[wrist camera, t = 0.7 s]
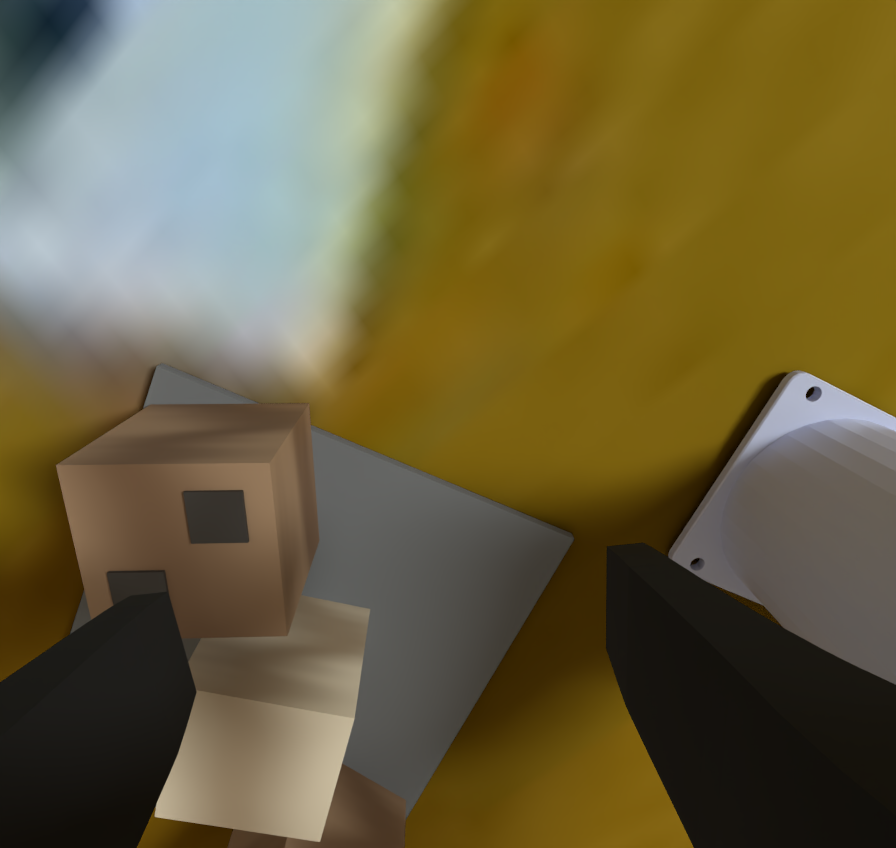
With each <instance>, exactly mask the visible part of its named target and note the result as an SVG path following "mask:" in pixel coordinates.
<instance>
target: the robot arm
mask: <svg viewBox="0 0 896 848" xmlns="http://www.w3.org/2000/svg"><path fill="white" fill-rule="evenodd" d="M811 387H814V392H813V394H812V395H811V396H810V397H808V398H806V393H807V390H809V389H810V388H811ZM696 558H700V559H699V561H698V562H697V563H696V564H693V565H691V561H693V560H694V559H696ZM709 583H711V584H713V585H716V586H718V587H720V588H723V589H725V590H728V591H730V592H732V593H735V594H737V595H739V596H742V597H744V598H747V599H749V600H751V601H754V602H756V603H759V604H761V605H763V606H764V607H765V608H766V609H767V610H768V611H769V612H770V613H771V614H772V616H773V617H774V618H775V619H776V620H777V621H778V622H779V623H780V624H781V626H782V627H781V626H779V625H778V624H776V623H774V622H772V621H771V620H769V619H767V618H765V617H764V616H762V615H760V614H759V613H757V612H755V611H753V610H752V609H750V608H748V607H747V606H745V605H743V604H742V603H740V602H738V601H737V600H735V599H734V598H732V597H730V596H729V595H727V594H725V593H724V592H722V591H721V590H719V589H717V588H716V587H714V586H713V585H711V584H709ZM606 649H607V652H608V655H609V658H610V661H611V664H612V667H613V670H614V673H615V676H616V679H617V682H618V685H619V688H620V691H621V693H622V696H623V699H624V702H625V705H626V707H627V709H628V711H629V714H630V716H631V718H632V720H633V722H634V724H635V726H636V729H637V731H638V733H639V735H640V737H641V739H642V741H643V743H644V745H645V747H646V750H647V752H648V754H649V756H650V758H651V760H652V762H653V764H654V766H655V768H656V770H657V772H658V774H659V776H660V778H661V781H662V783H663V785H664V787H665V789H666V791H667V793H668V795H669V797H670V799H671V801H672V803H673V805H674V807H675V809H676V812H677V814H678V816H679V818H680V820H681V822H682V824H683V826H684V828H685V830H686V832H687V834H688V836H689V838H690V840H691V843H692V845H693V847H694V848H896V418H895V417H893V416H891V415H889V414H887V413H885V412H883V411H881V410H879V409H877V408H875V407H874V406H872V405H870V404H868V403H866V402H864V401H862V400H860V399H858V398H856V397H854V396H852V395H850V394H848V393H846V392H844V391H842V390H840V389H838V388H836V387H834V386H832V385H830V384H828V383H827V382H825V381H823V380H821V379H819V378H817V377H815V376H813V375H811V374H809V373H806V372H803V371H799V370H798V371H793V372H791V373H789V374H787V375H786V376H785V377H784V378H783V380H782V381H781V383H780V384H779V386H778V387H777V389H776V390H775V392H774V393H773V395H772V396H771V398H770V399H769V401H768V402H767V404H766V405H765V407H764V408H763V410H762V411H761V413H760V414H759V416H758V417H757V419H756V421H755V422H754V424H753V425H752V427H751V428H750V430H749V431H748V433H747V434H746V436H745V437H744V439H743V440H742V442H741V443H740V445H739V446H738V448H737V449H736V451H735V452H734V454H733V455H732V457H731V458H730V460H729V461H728V463H727V464H726V466H725V467H724V469H723V470H722V472H721V473H720V475H719V476H718V478H717V479H716V481H715V483H714V484H713V486H712V487H711V489H710V490H709V492H708V493H707V495H706V496H705V498H704V499H703V501H702V502H701V504H700V505H699V507H698V508H697V510H696V511H695V513H694V514H693V516H692V517H691V519H690V520H689V522H688V523H687V525H686V526H685V528H684V529H683V531H682V532H681V534H680V535H679V537H678V538H677V540H676V541H675V543H674V545H673V546H672V548H671V549H670V551H669V554H668V557H667V556H665V555H664V554H662V553H660V552H659V551H657V550H655V549H654V548H652V547H650V546H648V545H647V544H645V543H635V544H626V545H616V546H607V593H606ZM196 693H197V691H196V687H195V684H194V680H193V677H192V673H191V670H190V666H189V663H188V659H187V656H186V652H185V649H184V645H183V642H182V638H181V635H180V631H179V628H178V624H177V621H176V617H175V614H174V610H173V607H172V603H171V600H170V596H169V593H168V592H159V593H150V594H140V595H131V596H129V597H127V598H125V599H123V600H122V601H120V602H118V603H116V604H115V605H113V606H112V607H110V608H108V609H107V610H105V611H104V612H102V613H101V614H99V615H98V616H96V617H95V618H93V619H92V620H90V621H89V622H87V623H86V624H84V625H83V626H81V627H80V628H78V629H77V630H75V631H74V632H73V633H71V634H70V635H68V636H67V637H65V638H64V639H62V640H61V641H60V642H58V643H57V644H55V645H54V646H52V647H51V648H49V649H48V650H46V651H45V652H44V653H42V654H41V655H39V656H38V657H36V658H35V659H33V660H32V661H31V662H29V663H28V664H26V665H25V666H23V667H22V668H20V669H19V670H17V671H16V672H15V673H13V674H12V675H10V676H9V677H7V678H6V679H4V680H3V681H1V682H0V848H137V846H138V843H139V841H140V839H141V837H142V835H143V832H144V830H145V828H146V826H147V824H148V821H149V819H150V817H151V815H152V812H153V810H154V808H155V806H156V803H157V801H158V799H159V797H160V794H161V792H162V790H163V788H164V785H165V783H166V781H167V779H168V776H169V774H170V772H171V769H172V767H173V765H174V762H175V760H176V758H177V755H178V752H179V749H180V746H181V743H182V740H183V737H184V734H185V731H186V727H187V724H188V721H189V717H190V714H191V710H192V707H193V703H194V700H195V696H196Z"/></svg>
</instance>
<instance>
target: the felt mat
mask: <svg viewBox="0 0 896 848" xmlns="http://www.w3.org/2000/svg"><path fill="white" fill-rule="evenodd" d="M150 404H259V403H257V402H254V401H252V400H250V399H247V398H245V397H242V396H240V395H238V394H235V393H233V392H230V391H228V390H226V389H223V388H221V387H218V386H216V385H214V384H211V383H209V382H206V381H204V380H202V379H199V378H197V377H194V376H192V375H189V374H187V373H185V372H182V371H180V370H177V369H175V368H173V367H170V366H168V365H165V364H163V363H162V364H160V365H158V366H157V367H156V370H155V373H154V376H153V379H152V382H151V385H150V388H149V391H148V395H147V398H146V401H145V404H144V407H143V409H144V408H146V407H147V406H149V405H150ZM311 435H312V448H313V462H314V475H315V488H316V501H317V514H318V528H319V544H318V547H317V550H316V553H315V556H314V559H313V561H312V564H311V567H310V570H309V573H308V576H307V579H306V582H305V585H304V588H303V591H302V594H301V595H303V596H308V597H313V598H318V599H323V600H328V601H333V602H338V603H343V604H348V605H352V606H357V607H362V608H367V609H370V614H369V621H368V628H367V635H366V642H365V649H364V656H363V663H362V670H361V677H360V684H359V691H358V698H357V705H356V712H355V719H354V722H353V726H352V730H351V733H350V737H349V740H348V744H347V747H346V751H345V755H344V758H343V762H342V763H343V764H344V765H346V766H348V767H349V768H351V769H353V770H355V771H356V772H358V773H360V774H362V775H363V776H365V777H367V778H368V779H370V780H372V781H374V782H375V783H377V784H379V785H381V786H382V787H384V788H386V789H388V790H389V791H391V792H393V793H394V794H396V795H398V796H400V797H401V798H403V799H405V800H406V817H405V820H406V818H407V817H408V815H409V813H410V812H411V810H412V808H413V807H414V805H415V803H416V802H417V800H418V798H419V797H420V795H421V793H422V792H423V790H424V788H425V787H426V785H427V783H428V782H429V780H430V778H431V777H432V775H433V773H434V772H435V770H436V768H437V767H438V765H439V763H440V762H441V760H442V758H443V757H444V755H445V753H446V752H447V750H448V748H449V747H450V745H451V743H452V742H453V740H454V738H455V737H456V735H457V733H458V732H459V730H460V728H461V727H462V725H463V723H464V722H465V720H466V718H467V717H468V715H469V713H470V712H471V710H472V708H473V707H474V705H475V704H476V702H477V700H478V699H479V697H480V695H481V694H482V692H483V690H484V689H485V687H486V685H487V684H488V682H489V680H490V679H491V677H492V675H493V674H494V672H495V670H496V669H497V667H498V665H499V664H500V662H501V660H502V659H503V657H504V655H505V654H506V652H507V650H508V649H509V647H510V645H511V644H512V642H513V640H514V639H515V637H516V635H517V634H518V632H519V630H520V629H521V627H522V625H523V624H524V622H525V620H526V619H527V617H528V615H529V614H530V612H531V610H532V609H533V607H534V605H535V604H536V602H537V600H538V599H539V597H540V595H541V594H542V592H543V590H544V589H545V587H546V585H547V584H548V582H549V580H550V579H551V577H552V575H553V574H554V572H555V570H556V569H557V567H558V565H559V564H560V562H561V560H562V559H563V557H564V555H565V554H566V552H567V550H568V549H569V547H570V545H571V544H572V542H573V541H574V537H573V535H572V533H569V532H567V531H565V530H562V529H560V528H557V527H555V526H553V525H550V524H548V523H545V522H543V521H541V520H538V519H536V518H533V517H531V516H528V515H526V514H524V513H521V512H519V511H516V510H514V509H512V508H509V507H507V506H504V505H502V504H500V503H497V502H495V501H492V500H490V499H488V498H485V497H483V496H480V495H478V494H476V493H473V492H471V491H468V490H466V489H464V488H461V487H459V486H456V485H454V484H452V483H449V482H447V481H444V480H442V479H440V478H437V477H435V476H432V475H430V474H428V473H425V472H423V471H420V470H418V469H415V468H413V467H411V466H408V465H406V464H403V463H401V462H399V461H396V460H394V459H391V458H389V457H387V456H384V455H382V454H379V453H377V452H375V451H372V450H370V449H367V448H365V447H363V446H360V445H358V444H355V443H353V442H351V441H348V440H346V439H343V438H341V437H339V436H336V435H334V434H331V433H329V432H327V431H324V430H322V429H319V428H317V427H315V426H312V425H311ZM90 620H91V616H90V612H89V608H88V603H87V599H86V594H85V590H84V592H83V595H82V598H81V601H80V604H79V607H78V611H77V614H76V617H75V620H74V623H73V626H72V629H71V632H70V634H71V633H73V632H74V631H75V630H77V629H78V628H80V627H81V626H83V625H84V624H86V623H87V622H89V621H90ZM200 639H201V638H185V639H182V642H183V645H184V649H185V652H186V656H187V659H188V661H189V660H190V658H191V656H192V654H193V652H194V650H195V649H196V647H197V645H198V643H199V641H200ZM156 805H157V803H156ZM155 807H156V806H155Z"/></svg>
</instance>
